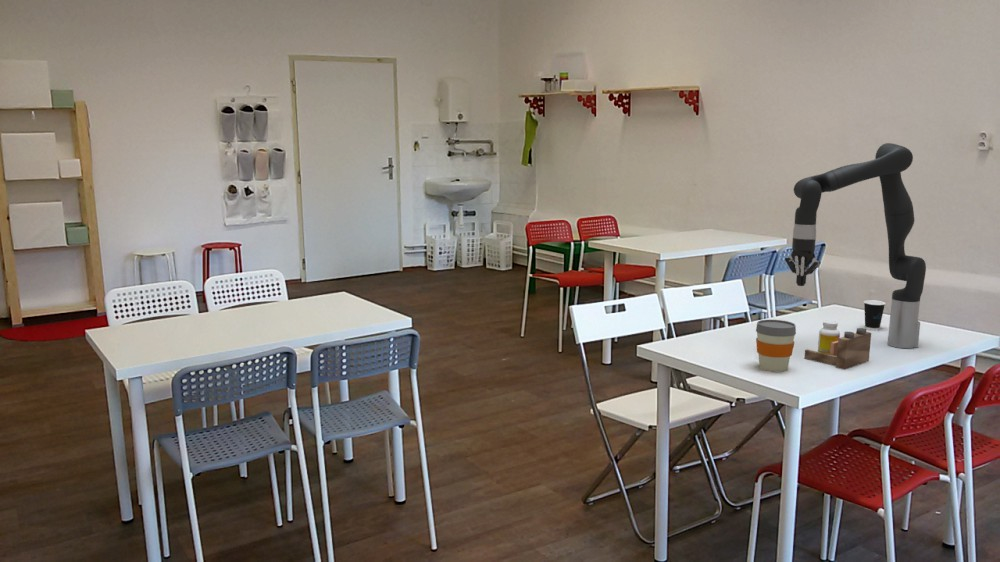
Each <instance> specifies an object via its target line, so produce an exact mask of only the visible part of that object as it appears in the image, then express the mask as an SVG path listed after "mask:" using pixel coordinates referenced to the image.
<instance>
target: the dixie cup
mask: <svg viewBox="0 0 1000 562" xmlns="http://www.w3.org/2000/svg"><path fill="white" fill-rule="evenodd" d="M863 303H864V304H863V305H864V327H865V329H866V331H867V330H868V331H872V330H874V331H876V330H877V331H879V330H880V328H881V324H882V318H883V316H884V315H883V314H884V309H885V306H886V302H884V301H881V300H876V299H873V300H872V299H871V300H870V299H869V300H866V299H865V300H863ZM877 331H876V332H877Z"/></svg>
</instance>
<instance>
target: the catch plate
mask: <svg viewBox="0 0 1000 562" xmlns="http://www.w3.org/2000/svg"><path fill="white" fill-rule="evenodd" d="M837 350H838V341H835V342H832V343H831V347H830V355H834V356H837Z"/></svg>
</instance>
